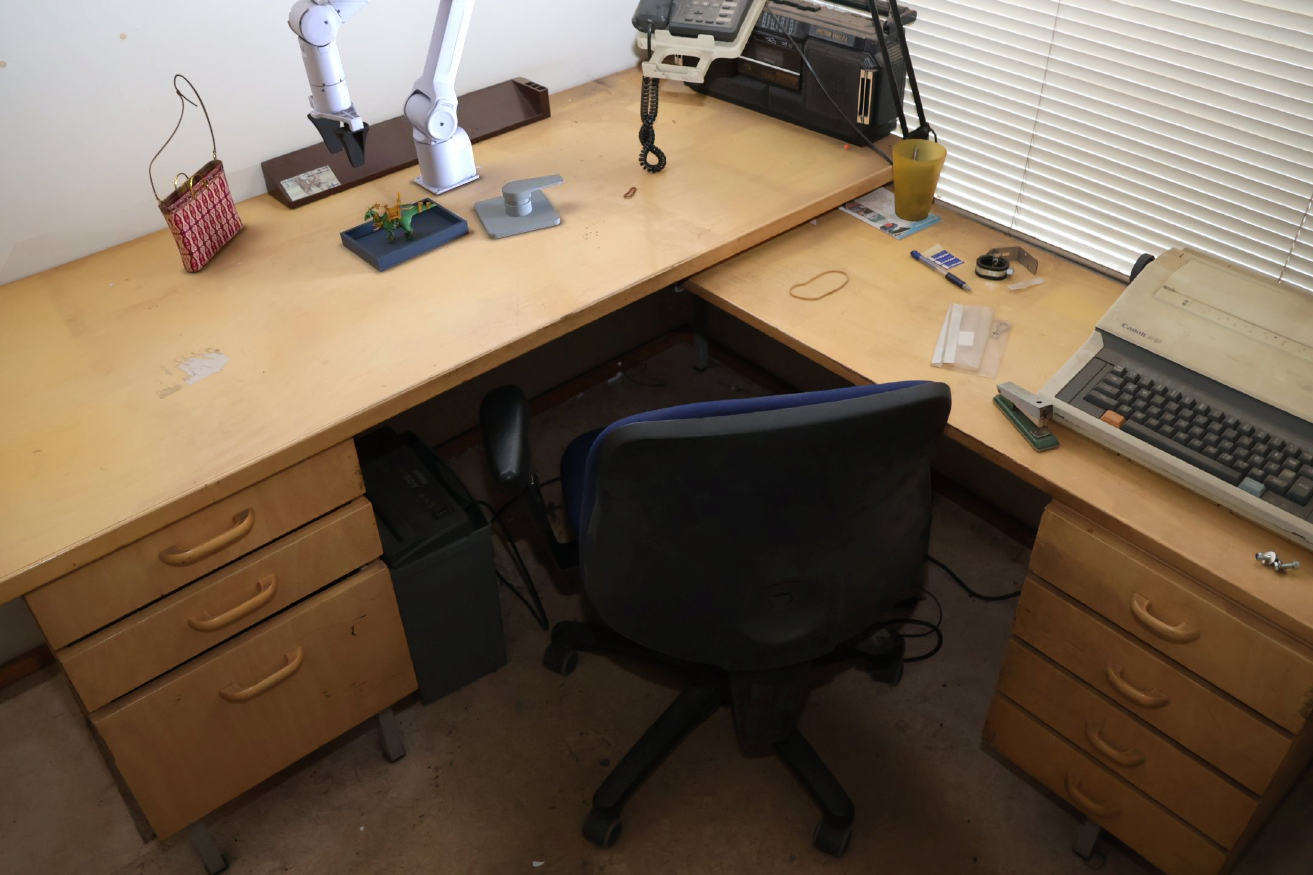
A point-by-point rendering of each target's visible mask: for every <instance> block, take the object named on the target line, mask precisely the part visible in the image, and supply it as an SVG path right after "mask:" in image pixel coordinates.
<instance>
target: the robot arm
mask: <svg viewBox="0 0 1313 875" xmlns="http://www.w3.org/2000/svg"><path fill="white" fill-rule="evenodd" d="M370 3H372V0H297V1H296V2H295V3H293V4H292V6H291V7H290V11H289V12H288V20H287V21H286V23H287V25H288V27H289V29H290V30H291V31H292V32H293V33H294V34H295V35H296V36H297V41H298V44H299V48H300V53H301V58H302V62H303V66H304V69H305V73H306V77H307V80H308V84H309V87H310V91H311V95H308V96H307V97H308V102H309V105H310V108H311V109H313V110H311V111H310V112H309V113H308V114H306V118H307V119H308V120H309V122H311V124H312V125H313V126H314V127H315V129H316V130H317V131H318V134H319V135H320V137H321V138H322V140H323V142H324V145H325V146H326V148H327V150H328V151H329V153H330V154H331V155H335V154H337V153H339V152H342V151H344V152H345V155H346V157H347V159H348V161H349V164H350V166H351V167H352V168H354V169H356V168H359V167H361V166H364V165H365V163H366V141H367V137H368V134H369V132H370V124H369V123H367V122H366V121H363V119H362V116H361V115H359V113H358V112H357V109H356V108H355V105H354V103H353V102H352V100H351V95H350V92H349V91H350V90H349V87H348V83H347V80H346V75H345V71H344V67H343V63H342V59H341V56H340V52H339V48H338V44H337V41H336V38H337V36H338V34H339V28H340V27H341V26H342V25H344V24H345V23H346V22H347V21H350V19H352V18H353V17H354V16H355V15H356V14H358V13H359V12H360V11H361V10H363V9H364V8H365V7H366V6H368V5H369V4H370ZM474 6H475V0H439V4H438V8H437V13H436V17H435V21H434V26H433V29H432V34H431V37H430V42H429V46H428V51H427V55H426V59H425V63H424V67H423V71H422V75H421V76H420V77H418V78H417V79H416V80H415V81H414V82H413V86H412V89H411V91H410V93H408V95H407V97H406V98H405V100H404V102H403V106H402V113H403V116H404V118H405V120H406V121H407V123H409V124H410V125H412V138H413V143H414V147H415V152H416V157H417V161H418V166H419V172H420V175H419V176H416V177H414V178H413V179H412V181H413V182H414V183H415V184H416V185H418V186H420V187H422V188H423V189H425V190H427V191H429V192H430V193H432V194H434V195H439V194H443V193H445V192H447V191H450V190H452V189H455V188H457V187H459V186H462V185H465V184H468V183H470V182H473V181H474V180H477V179H479V178H480V175H479V174H477V171H476V165H475V159H474V153H473V148H472V143H471V140H470V138H469V136H468V133H467V132H466V131H465V129H464V128H462V127H461V126H458V116H457V108H458V104H459V101H458V98H457V95H456V92H455V87H454V84H455V82H456V81H455V80H456V78H457V77H456V76H457V73H458V69H459V65H460V62H461V58H462V53H463V50H464V45H465V41H466V37H467V33H468V30H469V25H470V22H471V18H472V13H473V9H474ZM341 123H342V124H343V125H342V126H341ZM343 149H344V150H343Z"/></svg>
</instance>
